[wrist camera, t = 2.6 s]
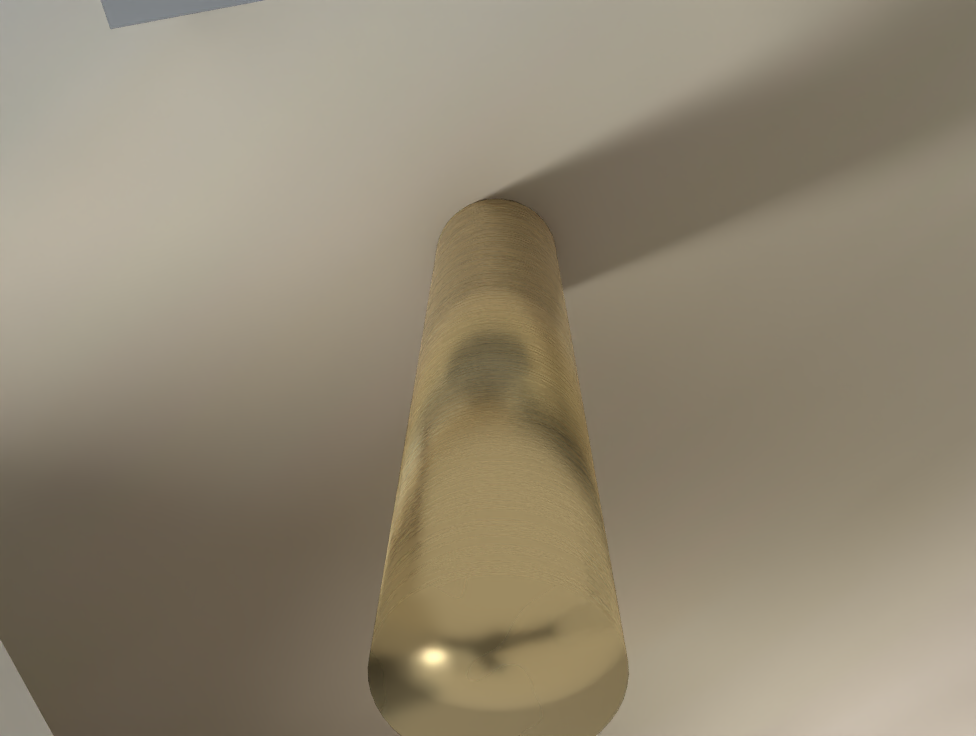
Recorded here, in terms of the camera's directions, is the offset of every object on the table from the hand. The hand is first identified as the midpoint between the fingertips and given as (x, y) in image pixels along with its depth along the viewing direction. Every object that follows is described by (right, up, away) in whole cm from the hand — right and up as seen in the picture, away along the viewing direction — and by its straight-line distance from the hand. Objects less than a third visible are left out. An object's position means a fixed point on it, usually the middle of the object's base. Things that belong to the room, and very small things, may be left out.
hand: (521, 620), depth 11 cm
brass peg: (0, +6, +12) cm, 13 cm away
